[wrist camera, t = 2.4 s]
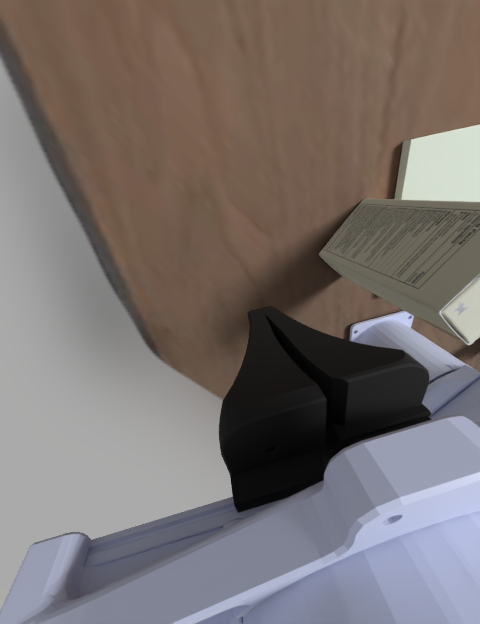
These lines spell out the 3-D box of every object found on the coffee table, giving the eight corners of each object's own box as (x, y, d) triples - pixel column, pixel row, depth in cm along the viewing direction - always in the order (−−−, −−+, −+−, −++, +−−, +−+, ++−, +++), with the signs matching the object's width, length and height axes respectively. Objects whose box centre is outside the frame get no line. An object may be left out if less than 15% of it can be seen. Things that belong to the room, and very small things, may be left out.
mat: (485, 266, 26) (493, 269, 25) (379, 294, 25) (384, 297, 24) (548, 109, 19) (561, 106, 18) (403, 141, 18) (411, 139, 17)
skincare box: (342, 277, 23) (465, 352, 13) (315, 253, 21) (432, 318, 11) (391, 224, 21) (584, 260, 11) (367, 193, 19) (569, 200, 9)
